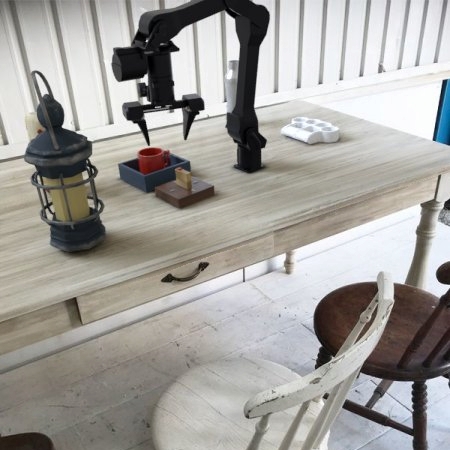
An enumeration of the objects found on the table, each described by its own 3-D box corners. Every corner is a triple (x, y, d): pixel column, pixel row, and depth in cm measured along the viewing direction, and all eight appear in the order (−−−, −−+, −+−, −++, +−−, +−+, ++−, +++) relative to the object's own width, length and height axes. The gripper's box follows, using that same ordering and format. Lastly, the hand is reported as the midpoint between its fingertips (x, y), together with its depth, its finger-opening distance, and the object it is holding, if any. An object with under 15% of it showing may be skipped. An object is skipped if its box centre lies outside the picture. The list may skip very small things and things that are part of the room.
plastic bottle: (246, 128, 172) (245, 63, 160) (225, 129, 172) (223, 63, 160) (246, 122, 177) (245, 58, 165) (226, 123, 177) (223, 59, 166)
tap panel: (214, 195, 130) (214, 185, 129) (179, 209, 125) (178, 198, 123) (190, 183, 137) (189, 174, 135) (155, 196, 131) (154, 186, 129)
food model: (35, 189, 138) (15, 111, 126) (58, 181, 141) (41, 105, 129) (51, 200, 131) (31, 120, 120) (75, 192, 135) (58, 113, 123)
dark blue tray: (191, 176, 141) (190, 160, 138) (146, 192, 133) (144, 176, 131) (164, 164, 149) (162, 149, 146) (120, 179, 141) (117, 163, 139)
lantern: (111, 255, 108) (77, 76, 88) (46, 264, 106) (-4, 83, 86) (110, 224, 119) (79, 59, 99) (50, 231, 118) (7, 65, 97)
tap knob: (192, 188, 128) (190, 171, 126) (187, 189, 127) (186, 173, 125) (181, 182, 131) (179, 166, 128) (176, 184, 130) (175, 168, 128)
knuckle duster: (274, 134, 166) (307, 124, 173) (314, 148, 154) (348, 137, 161) (274, 123, 164) (307, 114, 171) (315, 137, 152) (349, 126, 159)
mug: (150, 182, 136) (147, 158, 132) (135, 175, 140) (132, 152, 137) (178, 172, 141) (176, 149, 137) (163, 166, 145) (161, 143, 141)
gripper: (189, 63, 127) (193, 127, 136) (113, 72, 122) (123, 138, 131) (203, 73, 119) (207, 140, 128) (122, 82, 114) (132, 152, 123)
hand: (167, 142), depth 128 cm, fingers open, 9 cm apart
